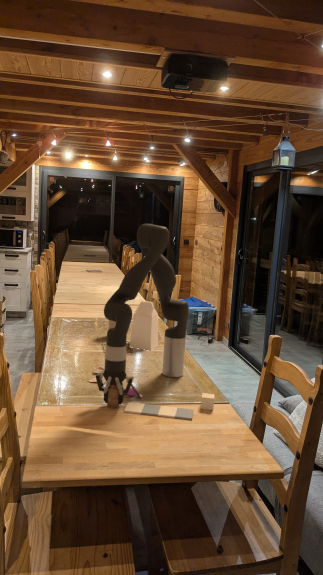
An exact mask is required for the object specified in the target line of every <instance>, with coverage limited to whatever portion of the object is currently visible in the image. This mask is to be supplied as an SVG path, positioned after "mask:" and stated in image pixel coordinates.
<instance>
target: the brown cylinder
mask: <svg viewBox="0 0 323 575" xmlns="http://www.w3.org/2000/svg"><path fill="white" fill-rule="evenodd" d="M106 408H108V409H112V410H115V409H119V408H120V404H119V390H118V387H117V386H116V385H110V386H109V388H108V399H107V403H106Z"/></svg>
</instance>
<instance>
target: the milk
mask: <svg viewBox="0 0 323 575" xmlns="http://www.w3.org/2000/svg"><path fill="white" fill-rule="evenodd" d="M131 322H132V324H131V332H130V339H129V342H130V343H129V347H130V346H131V347H133V348H139V349H145V350H149V351H148V352H152V351H151V350H153V349H154V348H155V347H157V346H158V347H159V314H158V312H157V310H156V309H155V305H154V302H153V301H148V300H147V301H146V300H141V301H140V302H139V304H138V306H137V308H136V310H135V311H134V313H133V314H132V320H131ZM145 350H144V351H145Z"/></svg>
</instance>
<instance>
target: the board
mask: <svg viewBox="0 0 323 575" xmlns="http://www.w3.org/2000/svg"><path fill="white" fill-rule="evenodd" d="M123 412H124V413H130V414H135V415H147V416H155V417H164V418H171V419H179V420H180V419H181V420H189V421H193V416H194V412H195V411H194V408H193V409H192V408H184V407H175V406H166V405H165V406H164V405H159V404H158V405H157V404H150V403H149V404H148V403H140V402H131V401H130V402H128V403H127V404H126V407H125V409H124V410H123Z"/></svg>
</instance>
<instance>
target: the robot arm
mask: <svg viewBox="0 0 323 575" xmlns="http://www.w3.org/2000/svg"><path fill="white" fill-rule="evenodd" d="M170 236H171V235H170V231H169V229H168V228H167V227H166V226H162V225H157V224H152V223H142V224H141V225H139V227H138V229H137V232H136V240H137V244H138V246H139V248H140V250H141V253H142V254H143V257H142V259H140V260H139V261H138V262H137V263H135V264H134V265H133V266H132V267H131V268H129V269H128V270H127V272H126V273H125V275H124V277H123V279H122V281H121V283H120V285H119V287H118V288H117V290H116V291H115V292H113V294H112V296H110V298H109V299H108V300H107V301H106V303H105V305H104V308H103V316H104V317H105V319H106V320H108V321H109V320H111V321H115V322H116V325H115V328H110V329H109V328H108V330H107V332H106V346H105V351H104V368H105V369H104V373H102V374H100V373H98V374H97V375H95V376H96V380H97V382H96V384H97V387H98V388H97V389H98V391H99V392H103V401H104V403H105V404H107V399H108V388H109V386H110V385H116V386H117V387H118V390H119V406H121V404H122V403H124V398H125V396H124V395H125V394H126V395H127V393H128V391H129V389H130V388H132V387H131V384H132V385H133V382H134V376H129V375H127V372H126V368H127V367H126V366H127V365H126V364H127V334H128V332H129V329H130V325H131V322H132V321H133V309H132V307H131V306H130V304H127V302H129V301H133V300H135V299H136V298H137V296H138V294H139V292H140V290H141V288H142V286H143V284H144V282H145V280H146V278H147V276H148V275H149V274H150V275H151V278H152V281H153V284H154V286H155V289H156V291H157V295H158V299H159V304H160V308H161V313H162V315H163V318H164V319H165V320H167V321H171V322H177V323H176V325H175V326H173V327H171V326H170V327H168V328H166V329H165V330H164V341H163V356H162V371H161V372H162V376H165V377H169V378H181V377H182V376H183V375H184V366H185V350H186V349H185V348H186V337H187V328H188V321H189V314H190V313H189V311H190V306H189V303H188V302H187V301H185V300H181V299H174V298H172V297H171V293H172V292H173V290H174V288H175V286H176V283H177V276H176V272H175V269H174V267H173V266H172V264H171V263H170V261H169V260H168V259H167V258H166V257H165V256H164V255H163V253H164V252H165V250H166V249H167V246H168V244H169V243H170V242H169V241H170ZM103 377H104V378H105V379H104V380H106V382H105V385H104V383H103V382H102V381H103V380H102V379H103ZM125 380H126V381H125ZM124 381H125V382H126V383H127V384H126V386H125V388H124V383H123V382H124Z"/></svg>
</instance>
